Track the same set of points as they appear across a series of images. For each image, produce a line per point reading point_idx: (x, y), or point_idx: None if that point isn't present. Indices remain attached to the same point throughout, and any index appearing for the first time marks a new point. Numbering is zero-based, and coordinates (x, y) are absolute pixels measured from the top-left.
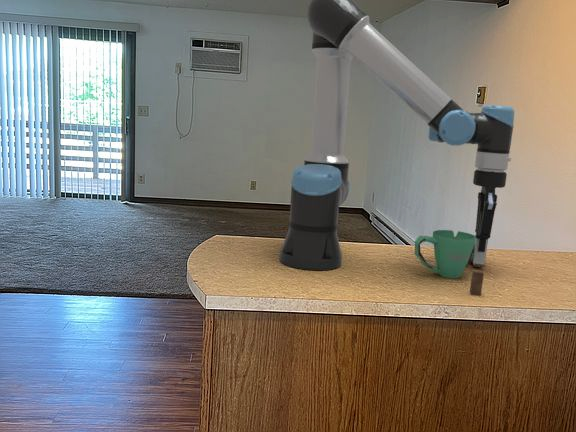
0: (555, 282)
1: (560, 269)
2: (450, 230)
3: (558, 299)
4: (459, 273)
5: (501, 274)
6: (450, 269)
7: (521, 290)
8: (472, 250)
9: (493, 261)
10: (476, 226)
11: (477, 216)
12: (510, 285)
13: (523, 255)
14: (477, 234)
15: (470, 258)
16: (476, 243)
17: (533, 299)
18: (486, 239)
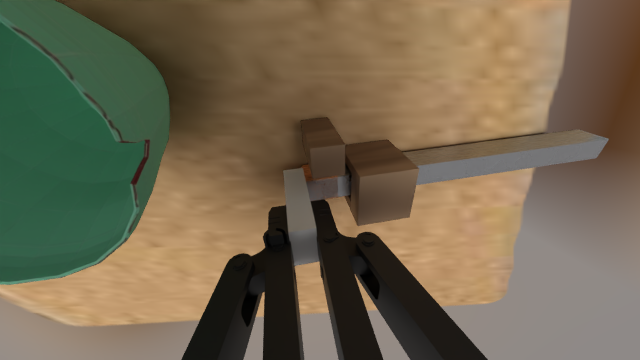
0: None
1: None
2: (107, 122)
3: (128, 311)
4: (91, 128)
5: (267, 225)
6: (26, 94)
7: (136, 264)
8: (353, 178)
9: None
10: (373, 257)
11: (410, 310)
12: (164, 245)
13: (473, 252)
14: (318, 241)
15: (345, 160)
16: (287, 216)
17: (72, 284)
18: (294, 260)
